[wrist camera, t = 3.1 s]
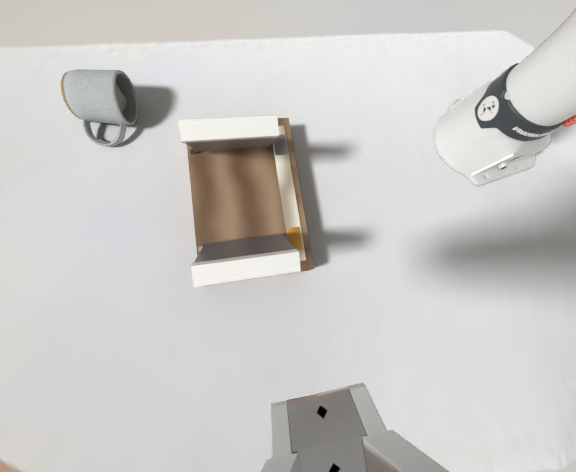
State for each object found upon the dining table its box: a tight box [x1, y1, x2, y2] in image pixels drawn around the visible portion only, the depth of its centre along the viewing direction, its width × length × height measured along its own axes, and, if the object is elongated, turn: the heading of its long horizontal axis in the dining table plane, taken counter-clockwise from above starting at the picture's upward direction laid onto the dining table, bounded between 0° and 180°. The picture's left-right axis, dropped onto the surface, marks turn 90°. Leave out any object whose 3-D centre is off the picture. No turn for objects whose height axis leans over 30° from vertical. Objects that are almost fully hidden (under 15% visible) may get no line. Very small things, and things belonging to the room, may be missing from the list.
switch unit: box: [187, 118, 314, 286], centre depth 43 cm, size 17×26×6 cm, turn 9°
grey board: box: [191, 234, 301, 287], centre depth 33 cm, size 11×2×11 cm, turn 99°
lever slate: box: [178, 115, 279, 152], centre depth 35 cm, size 11×2×11 cm, turn 99°
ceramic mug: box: [61, 70, 138, 147], centre depth 42 cm, size 11×8×8 cm
